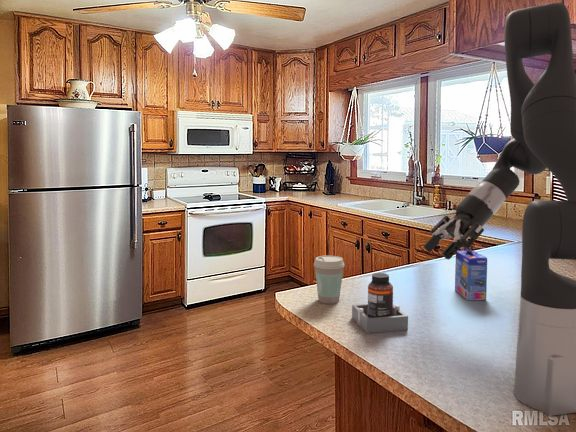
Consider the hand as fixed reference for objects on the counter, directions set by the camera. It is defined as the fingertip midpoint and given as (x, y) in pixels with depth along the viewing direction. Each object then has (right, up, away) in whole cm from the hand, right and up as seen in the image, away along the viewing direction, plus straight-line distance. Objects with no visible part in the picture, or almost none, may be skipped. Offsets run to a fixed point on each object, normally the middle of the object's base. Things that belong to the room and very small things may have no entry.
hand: (435, 253), depth 106 cm
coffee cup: (-24, -15, +19) cm, 34 cm away
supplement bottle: (-13, -17, +1) cm, 21 cm away
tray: (-13, -17, +1) cm, 22 cm away
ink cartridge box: (+17, -14, +23) cm, 32 cm away
